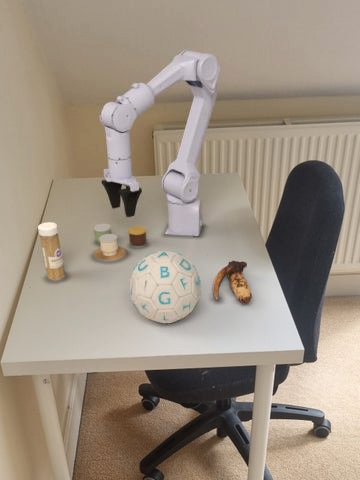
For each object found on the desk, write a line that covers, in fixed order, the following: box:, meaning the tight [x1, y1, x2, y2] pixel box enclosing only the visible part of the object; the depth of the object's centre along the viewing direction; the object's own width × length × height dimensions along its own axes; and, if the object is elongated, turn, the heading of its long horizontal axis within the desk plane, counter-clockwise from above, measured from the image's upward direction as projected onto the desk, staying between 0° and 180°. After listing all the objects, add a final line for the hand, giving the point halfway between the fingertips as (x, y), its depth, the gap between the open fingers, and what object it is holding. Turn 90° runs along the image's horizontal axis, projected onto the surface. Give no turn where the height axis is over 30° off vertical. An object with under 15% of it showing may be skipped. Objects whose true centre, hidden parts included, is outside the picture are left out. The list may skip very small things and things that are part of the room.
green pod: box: [93, 223, 112, 244], centre depth 161 cm, size 5×5×4 cm
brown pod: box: [128, 226, 147, 247], centre depth 158 cm, size 5×5×4 cm
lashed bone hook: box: [212, 260, 253, 305], centre depth 136 cm, size 9×5×18 cm
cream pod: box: [99, 233, 119, 256], centre depth 153 cm, size 5×5×4 cm
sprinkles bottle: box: [37, 221, 66, 281], centre depth 142 cm, size 5×5×13 cm
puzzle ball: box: [128, 250, 202, 325], centre depth 124 cm, size 15×15×15 cm
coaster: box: [93, 246, 127, 261], centre depth 155 cm, size 8×8×1 cm
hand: (123, 211), depth 152 cm, fingers open, 7 cm apart
